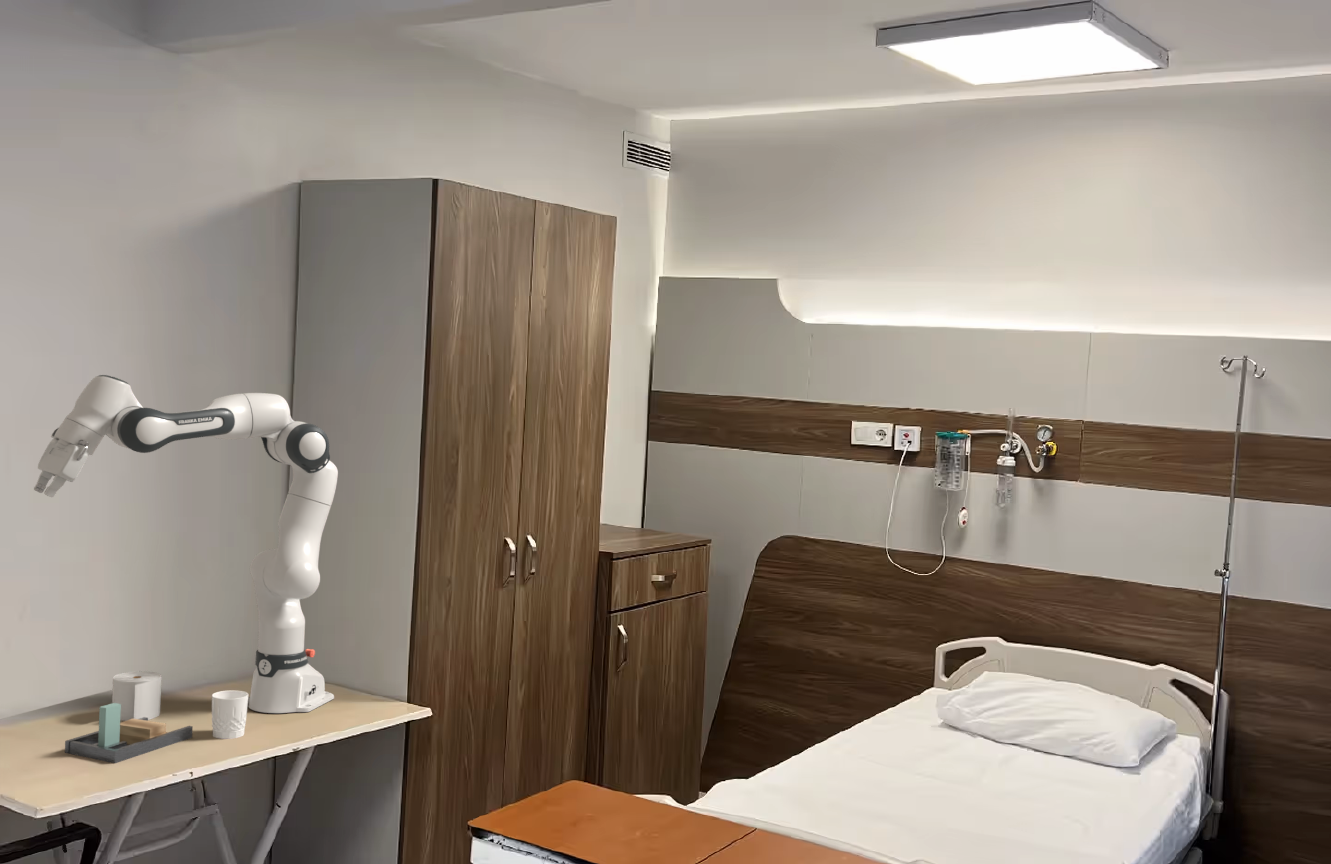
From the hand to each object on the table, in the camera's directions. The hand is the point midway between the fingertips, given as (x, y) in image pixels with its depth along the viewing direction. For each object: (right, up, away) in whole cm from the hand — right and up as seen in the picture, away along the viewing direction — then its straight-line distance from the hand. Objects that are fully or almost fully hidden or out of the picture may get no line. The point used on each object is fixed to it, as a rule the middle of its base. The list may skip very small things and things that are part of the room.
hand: (42, 493), depth 269 cm
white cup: (+37, -56, +10) cm, 68 cm away
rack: (+20, -56, -2) cm, 59 cm away
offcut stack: (+21, -55, +1) cm, 59 cm away
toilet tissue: (+12, -55, +21) cm, 60 cm away
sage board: (+18, -55, -7) cm, 58 cm away
